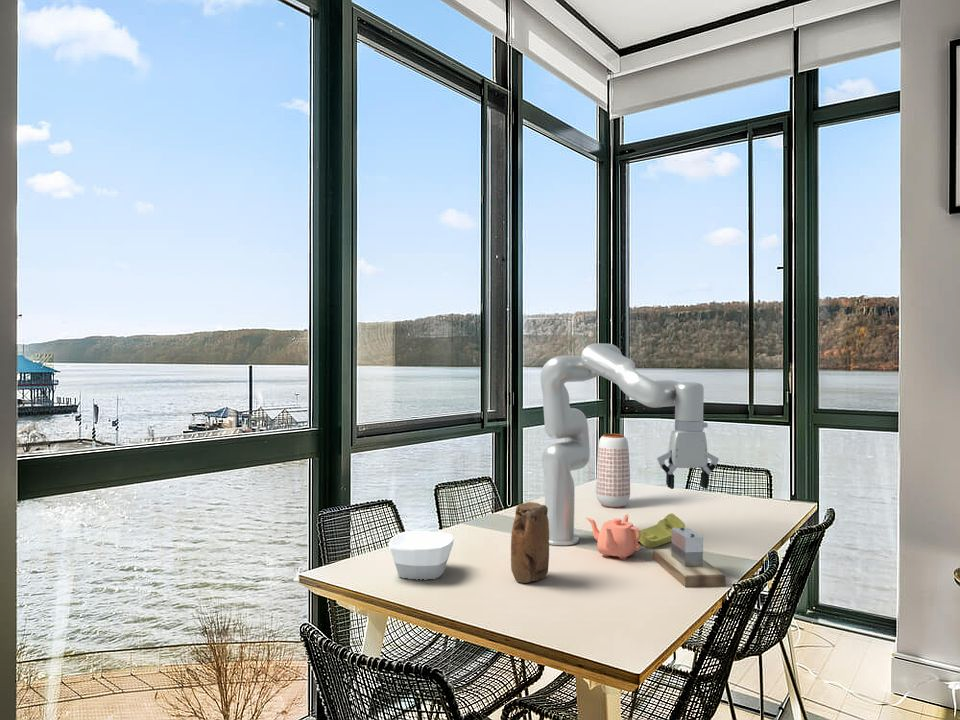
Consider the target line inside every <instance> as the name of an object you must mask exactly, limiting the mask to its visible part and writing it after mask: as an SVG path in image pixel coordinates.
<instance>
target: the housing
mask: <svg viewBox="0 0 960 720" xmlns="http://www.w3.org/2000/svg"><path fill="white" fill-rule="evenodd" d="M670 543H671V547H670V549H671V556H672V557H673V558H674V559H676V560H677V561H678V562H679V563H681V564H682V565H683V566H685V567H701V566H703V560H704V537H703V535H700V534H698V533H697V532H696V531H695V530H692V529H691V528H689V527H685V528H682V527H681V528H672V533H671V542H670Z"/></svg>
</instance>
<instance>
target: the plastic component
mask: <svg viewBox="0 0 960 720" xmlns="http://www.w3.org/2000/svg"><path fill="white" fill-rule="evenodd" d="M633 527H635V526H634V525H633ZM681 527H682V528H686V524H685V523H684V521H682V519H680V518H679V517H678V516H677V515H676V514H674V513H668V514H667V515H666V516H665V517H664V518H663V519H661V520H659V521H658V523H657V524H655V525H652V526H649V527H646V528H643V529H639V530H640V532H641V537H640V539H639V541H638V543H639V542H640V543H639V544H640V545H641V544H642V546H644V547H645V548H648V549H655V548H656V547H659V546H661V545H665V544H667V543H671V533H672V528H681ZM635 533H636V539H637V536H638V533H637V531H635Z"/></svg>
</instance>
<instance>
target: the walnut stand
mask: <svg viewBox="0 0 960 720" xmlns="http://www.w3.org/2000/svg"><path fill="white" fill-rule="evenodd" d="M652 556H653V557H652V558H653V559H652V560H653V561H654V562H655V563H657V564H658V565H659V566H660V567H661V568H662V569H664V570H665V571H666V572H667V573H668V574H669V575H670V576H672V577H673V579H675V580H676V581H677V582H679V583H680V584H681V585H682V586H683V587H684V586H685V588H697V587H699V588H700V587H701V588H703V586H706V588H707V587H708V588H709V587H726V582H727V581H726V577H727V576H726V575H725V574H724V573H723V572H721V571H720V570H718V569H717V568H716V567H714V566H713V565H711V563H709V562H707V561H706V560H705V559H703V566H701V567H685V566H683V565H682V564H681V563H679V562H678V561H677V560H676V559H674V558H673V557H672V556H671V548H666V549H663V548H661V549H654V550H653V554H652Z"/></svg>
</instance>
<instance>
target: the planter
mask: <svg viewBox="0 0 960 720" xmlns="http://www.w3.org/2000/svg"><path fill="white" fill-rule="evenodd" d="M629 451H630V450H629V443H628V439H627V438H626V437H625V435H624V434H621V433H604V434H603V435H602V436H601V437H600V438H599V442H598V449H597V460H596V480H595V481H596V483H595V495H596V499H597V501H598V502H599V504H600V505H601V506H602V507H603V508H608V509H620V508H624V507H625V505H626V504H628V502H629V500H630V497H631V467H630V452H629Z"/></svg>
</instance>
